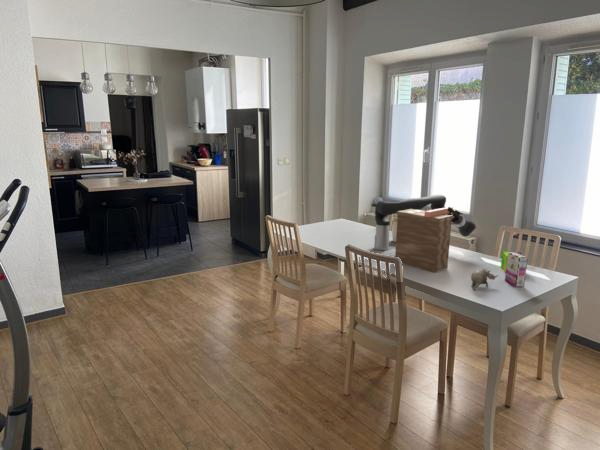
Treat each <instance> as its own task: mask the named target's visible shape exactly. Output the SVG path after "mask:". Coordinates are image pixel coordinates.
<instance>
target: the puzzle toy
mask: <svg viewBox="0 0 600 450" xmlns="http://www.w3.org/2000/svg"><path fill="white" fill-rule="evenodd" d="M508 252H509V251H502V254H501V262H500V263H501V264H500V268H501V269H502V271H503V270H504V271H503V272H504V273H506V267H507V258H508ZM517 253H519V254H521V255H523V256H525V255H524V254H522V253H521V252H518V251H517Z"/></svg>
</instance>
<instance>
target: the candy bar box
mask: <svg viewBox="0 0 600 450" xmlns="http://www.w3.org/2000/svg"><path fill="white" fill-rule="evenodd" d="M507 252H508V258H507V267H506V272H505V277H504V282H507V283H508V284H510V285H512V286H514V287H515V288H524V287H525V283H526V282H525V281H526V274H527V273H526V272H527V266H528V258H529V257H527V256H525V255H524V254H523V255H524V256H523V255H521V254H522V253H521V254H519V253H520V252H519V253H517V252H518V251H517V252H516V251H507Z"/></svg>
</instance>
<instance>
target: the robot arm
mask: <svg viewBox="0 0 600 450" xmlns="http://www.w3.org/2000/svg"><path fill="white" fill-rule="evenodd" d="M446 203H447V198H446V196H445V195H442V194H433V195H428V196H424V197H417V198H415V197H413V198H408V199H403V200H401V201H398V202H388V201H386V200H380V201H378V202H377V203H376V204H375V207H374V208H375V210H374V212H375V213H374V218H375V219H374V220H375V234H374V249H373V250H378V251H388V250H389V242H390V224H391V221H390V220H389V216H390V215H395V214H397V211H402V210H408V209H415V210H422V209H424V208H425V207H427V206H429V205H430V208H431V209H430V210H434V209H440V208H445V207H446ZM447 207H448V211H449V212H450V213H447V214H446V215H452V216H453V219H452V221H451V224H452V225H454V226H455V227H456V228H457V229H458V232H459V234H460V235H461V236H462V237H468V236H470V235H471V234H472V233H473V232H474V231H475V230H476V228H477V226H476V224H475V223H474V222H472V221H471V220H468V219H466V218H465V216H464V215H463V213H462V212H460V211H459V210H455V209H451V208H450V207H451V206H447Z"/></svg>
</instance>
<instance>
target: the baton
mask: <svg viewBox="0 0 600 450" xmlns="http://www.w3.org/2000/svg"><path fill="white" fill-rule="evenodd" d="M448 207H450V208H451V209H453V208H454V207H452V206H445V208H440V209H434V210H432V209H429V210H424V211H425V215H424V217H433V216H437V215H442V214H447V213H450V212H449V211H448ZM453 210H454V209H453Z"/></svg>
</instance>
